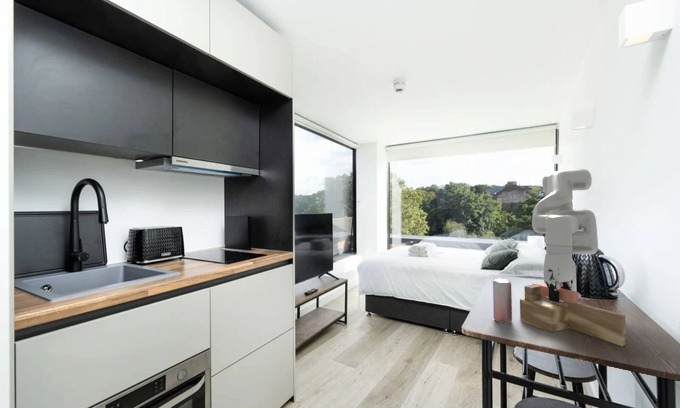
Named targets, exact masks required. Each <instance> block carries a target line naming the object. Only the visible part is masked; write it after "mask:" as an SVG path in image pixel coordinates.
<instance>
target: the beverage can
mask: <svg viewBox="0 0 680 408" xmlns="http://www.w3.org/2000/svg"><path fill="white" fill-rule="evenodd" d="M492 289H493V290H492V296H493V297H492V298H493V299H492V300H493V304H492V305H493V320H494V321H495V322H497V323H499V324H506V325H510V324H511V323H512V322H513V301H512V300H513V298H512V297H513V295H512V282H511V280H509V279H505V278H494V279H493V281H492Z"/></svg>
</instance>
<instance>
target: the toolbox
mask: <svg viewBox="0 0 680 408" xmlns="http://www.w3.org/2000/svg"><path fill="white" fill-rule="evenodd" d="M541 296H543V295H541ZM546 297H547V296H546ZM561 301H562V300H561ZM519 314H520V315H519V321H520V322H523V323H525V324H528V325H531V326H533V327H536V328H538V329H542V330H544V331H547V332H549V333H554V332H558V331H562V330H565V329H566V330H567V329H570V330H574V331H577V332H579V333H583V334H585V335H588V334H589V335H588V336H591V335H592V336H591V337H594V336H595V337H594V338H597V339H599V338H600V339H599V340H602V339H603V341H606V342H608V343H611V344H615V345H618V346H620V347H623V346H626V345H627V339H626V338H627V335H626V334H627V333H626V330H627V329H626V314H623V313H619V312H615V311H611V310H607V309H603V308H601V307H595V306H592V305H588V304H584V303H581V302H579V303H574V304H573V303H569V302H565V304H563V305H559V306H555V307H547V306H544V305H540V304H537V303H534V302H530V301H527V300H525V297H523V298H519Z"/></svg>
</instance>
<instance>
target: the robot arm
mask: <svg viewBox="0 0 680 408" xmlns="http://www.w3.org/2000/svg"><path fill="white" fill-rule="evenodd" d="M592 182H593V178H592V174H591V172H590V171H589V170H588V169H584V168H580V169H577V168H576V169H563V170H557V171H553V172H551V173H549V174H546V175H544V177H543V178H542V191H543V193H544V195H545V196H544V197H543V198H542V199H540V200H539V201H538V202H537V203H536V204H535V206H534V208H533V210H532V215H531V216H532V219H531V227H532V230H533V231H534V232H535V233H538V234H543V235H544V234H545V235H544V243H545V251H546V253H545V256H544V260H543V262H544V263H543V281H544V284H545V285H547V287H548V289H549V300H550V301H554V302H557V303H558V302H559V291H558V288H562V289H567V290H571V291H575V292H577V267H576V262H575V261H574V259H573V255H586V256H587V255H588V256H590V255H595V254H596V253H597V252H598V250H599V239H598V227H597V217H596V215H595V213H594V212H593V211H592V210H590V209H574V208H573V207H574V205H573V199H574V198H573V196H574V195H573V191H586V190H589V189H590V188H591V186H592ZM548 212H549V213H548ZM546 213H547V214H546ZM578 295H579V299H580V298H581V297H582V295H581V293H580V292H578ZM578 303H580V301H579V302H578Z"/></svg>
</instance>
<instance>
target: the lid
mask: <svg viewBox="0 0 680 408" xmlns="http://www.w3.org/2000/svg"><path fill="white" fill-rule="evenodd" d="M524 298H525V300H527V301H530V302H534V303H537V304H540V305H544V306H547V307H555V306H559V305H563V304H565V301H561V300H559V302H558V303H557V302H554V301H550V300H549V297H546V296H541V286H537V285H532V284H529V285H524Z"/></svg>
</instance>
